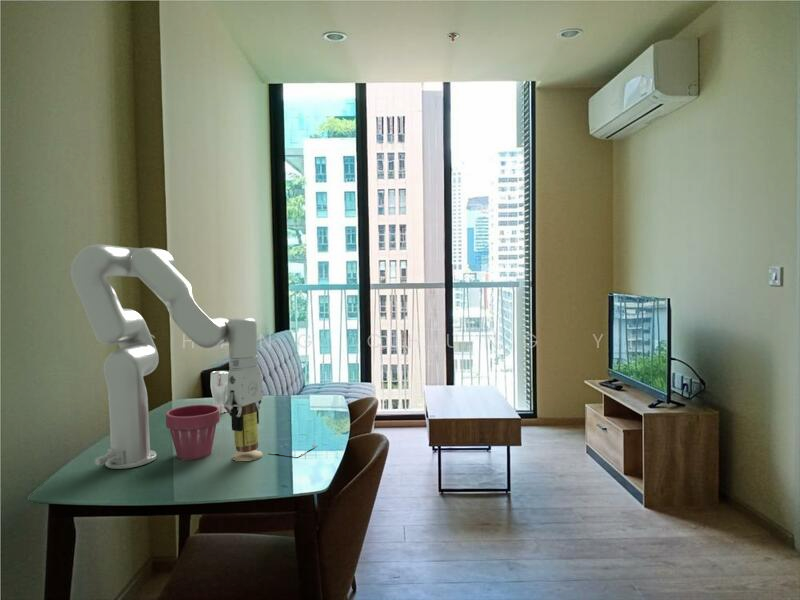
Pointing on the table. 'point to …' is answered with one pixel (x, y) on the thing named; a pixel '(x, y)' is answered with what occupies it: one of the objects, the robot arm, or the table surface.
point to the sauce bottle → (247, 430)
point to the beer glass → (219, 389)
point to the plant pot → (193, 430)
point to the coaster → (247, 455)
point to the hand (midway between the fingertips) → (245, 426)
